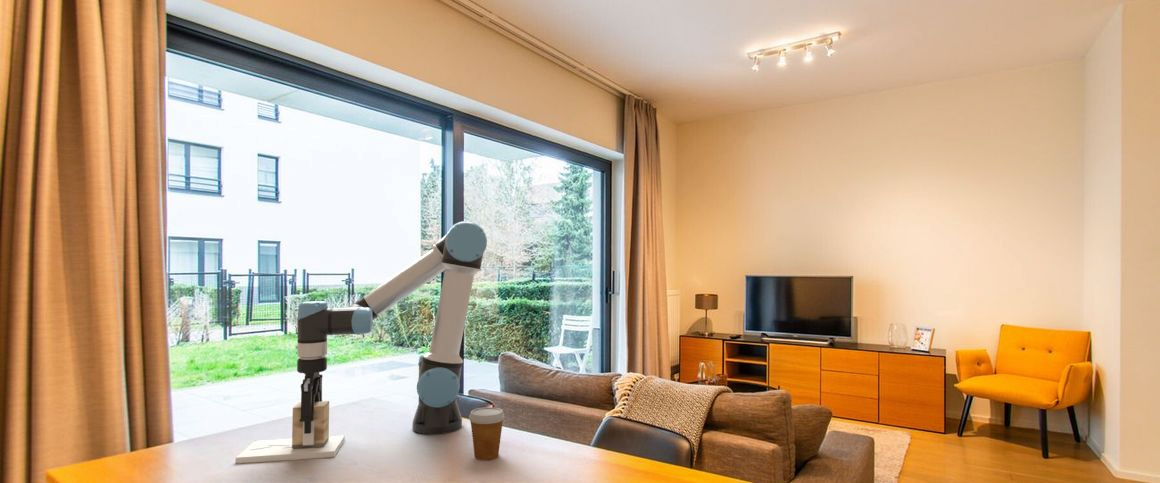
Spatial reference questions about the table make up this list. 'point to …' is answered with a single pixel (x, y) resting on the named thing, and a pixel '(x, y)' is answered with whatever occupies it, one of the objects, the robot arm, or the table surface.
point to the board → (287, 450)
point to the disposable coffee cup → (486, 432)
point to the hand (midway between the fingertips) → (311, 440)
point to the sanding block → (319, 425)
